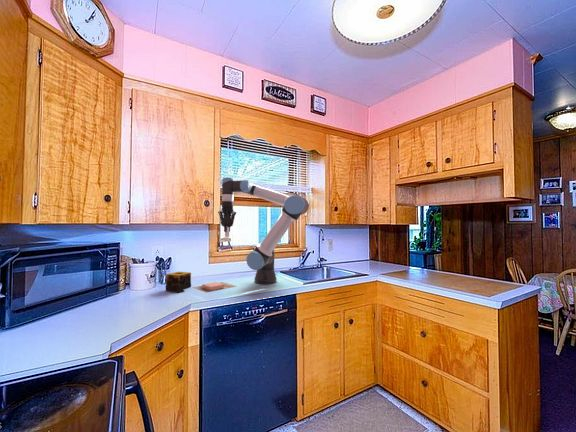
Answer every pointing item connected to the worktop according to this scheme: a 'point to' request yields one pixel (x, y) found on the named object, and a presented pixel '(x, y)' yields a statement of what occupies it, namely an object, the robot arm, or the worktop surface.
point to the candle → (178, 281)
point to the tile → (213, 286)
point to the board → (217, 289)
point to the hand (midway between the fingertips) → (226, 236)
